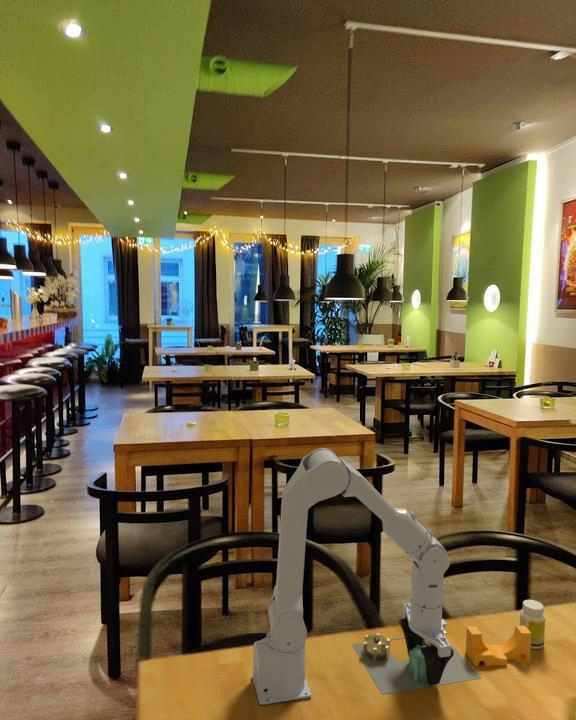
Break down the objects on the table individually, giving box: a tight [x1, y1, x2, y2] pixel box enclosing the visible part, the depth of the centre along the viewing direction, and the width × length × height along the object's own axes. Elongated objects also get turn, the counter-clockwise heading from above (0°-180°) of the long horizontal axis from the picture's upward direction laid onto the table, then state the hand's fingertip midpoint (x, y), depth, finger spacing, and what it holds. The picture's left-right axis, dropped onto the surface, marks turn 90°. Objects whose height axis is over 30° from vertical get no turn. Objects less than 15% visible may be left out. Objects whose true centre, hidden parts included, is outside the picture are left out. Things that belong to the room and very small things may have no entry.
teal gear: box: [408, 645, 427, 682], centre depth 101 cm, size 5×5×4 cm
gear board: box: [351, 630, 482, 695], centre depth 105 cm, size 20×15×4 cm
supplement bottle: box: [519, 599, 546, 650], centre depth 113 cm, size 5×5×8 cm
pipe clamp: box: [465, 625, 532, 667], centre depth 106 cm, size 12×4×6 cm, turn 93°
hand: (423, 670), depth 101 cm, fingers open, 7 cm apart
